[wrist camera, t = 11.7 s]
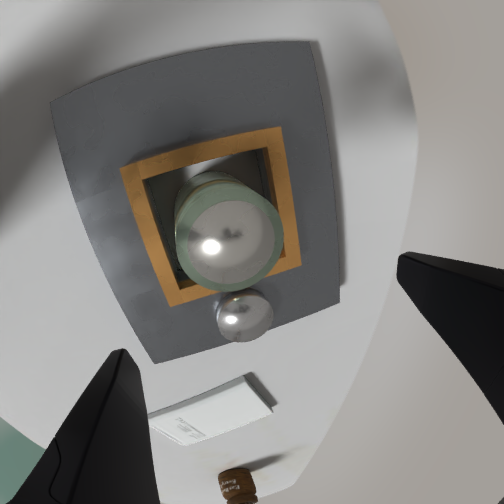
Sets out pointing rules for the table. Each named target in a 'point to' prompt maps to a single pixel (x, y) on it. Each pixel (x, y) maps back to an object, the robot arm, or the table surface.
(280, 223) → the can
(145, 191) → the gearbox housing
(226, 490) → the utensil holder
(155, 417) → the external hard drive
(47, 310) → the table surface
